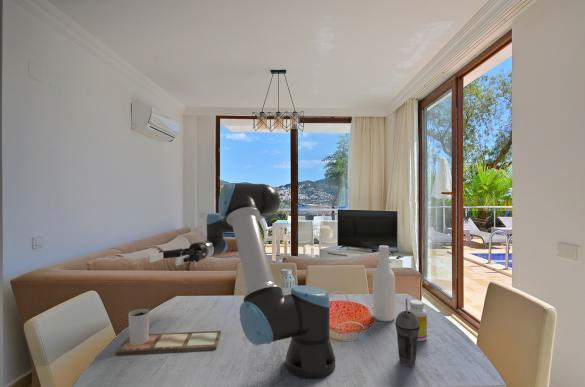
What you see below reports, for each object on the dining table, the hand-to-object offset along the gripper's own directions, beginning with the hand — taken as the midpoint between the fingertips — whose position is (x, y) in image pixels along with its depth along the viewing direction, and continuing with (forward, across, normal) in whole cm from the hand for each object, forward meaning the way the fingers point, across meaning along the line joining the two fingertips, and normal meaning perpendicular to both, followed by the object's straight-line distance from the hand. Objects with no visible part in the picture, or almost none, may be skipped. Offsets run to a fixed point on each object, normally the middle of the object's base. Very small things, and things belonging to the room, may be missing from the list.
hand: (162, 260), depth 116 cm
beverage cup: (-16, -85, -28) cm, 91 cm away
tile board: (+4, -9, -27) cm, 29 cm away
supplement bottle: (-35, -87, -28) cm, 98 cm away
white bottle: (-48, -74, -28) cm, 92 cm away
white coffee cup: (+10, +1, -26) cm, 28 cm away
